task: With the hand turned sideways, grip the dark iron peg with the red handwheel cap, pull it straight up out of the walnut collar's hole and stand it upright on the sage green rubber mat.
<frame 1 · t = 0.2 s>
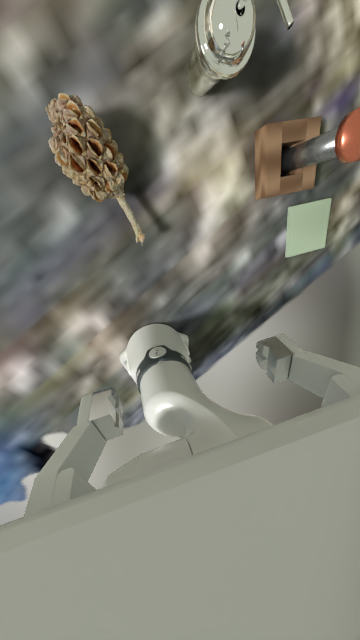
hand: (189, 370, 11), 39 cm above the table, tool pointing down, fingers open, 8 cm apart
pine cone: (108, 187, 39), on the table
mat: (306, 228, 54), on the table
collar: (279, 163, 46), on the table
peg: (312, 151, 38), in the collar
drinking straw: (198, 81, 36), on the table
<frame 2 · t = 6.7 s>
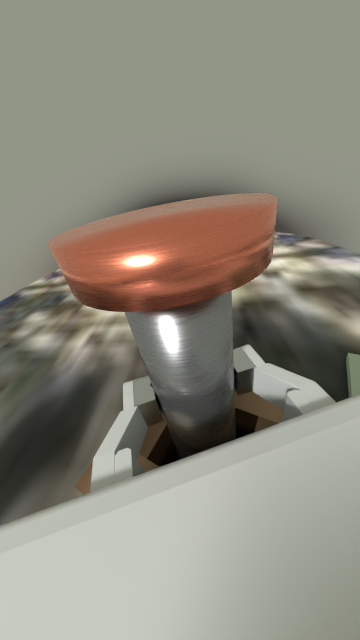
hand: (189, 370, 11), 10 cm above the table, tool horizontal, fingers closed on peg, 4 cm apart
collar: (209, 462, 16), on the table
peg: (196, 392, 11), in the collar, touching gripper
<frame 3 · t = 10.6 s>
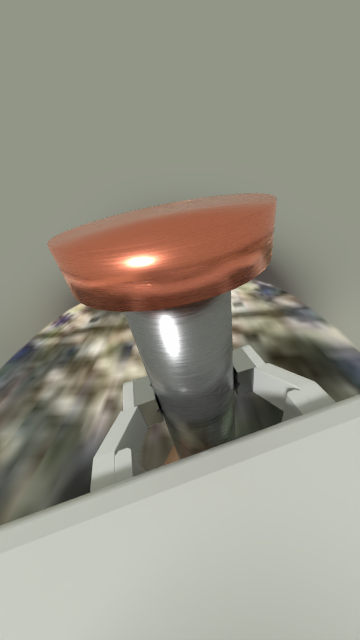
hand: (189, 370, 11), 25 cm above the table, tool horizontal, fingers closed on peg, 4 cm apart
peg: (195, 392, 11), point 24 cm above the table, touching gripper
when the fingers open (11 cm above the table, at t = 14.7 s): peg drops 1 cm, resting on mat.
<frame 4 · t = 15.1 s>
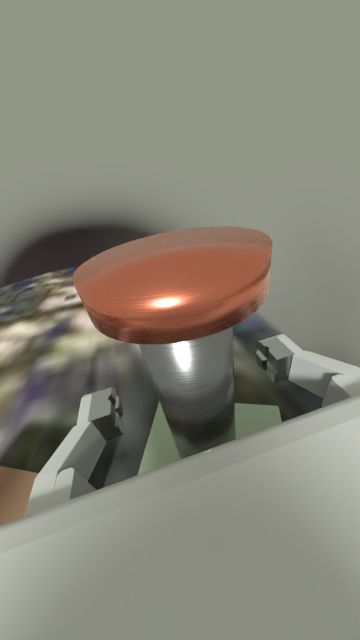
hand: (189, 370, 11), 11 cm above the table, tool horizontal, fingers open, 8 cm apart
mat: (212, 472, 17), on the table
peg: (198, 403, 12), on the mat, point 10 cm above the table
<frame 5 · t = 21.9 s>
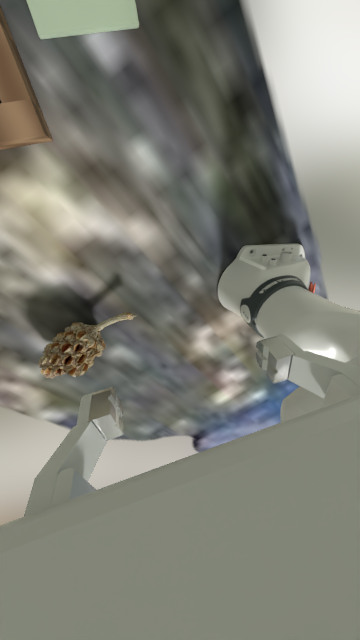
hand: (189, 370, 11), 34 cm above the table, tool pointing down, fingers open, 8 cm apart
pine cone: (91, 326, 46), on the table
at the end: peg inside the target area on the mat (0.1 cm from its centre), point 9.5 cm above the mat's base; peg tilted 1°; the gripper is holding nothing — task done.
